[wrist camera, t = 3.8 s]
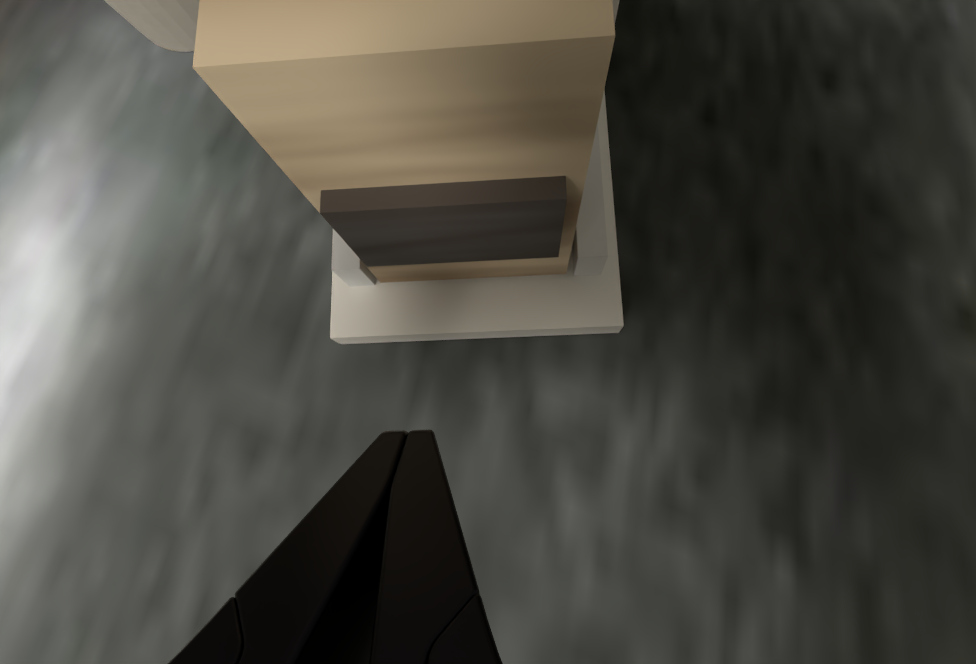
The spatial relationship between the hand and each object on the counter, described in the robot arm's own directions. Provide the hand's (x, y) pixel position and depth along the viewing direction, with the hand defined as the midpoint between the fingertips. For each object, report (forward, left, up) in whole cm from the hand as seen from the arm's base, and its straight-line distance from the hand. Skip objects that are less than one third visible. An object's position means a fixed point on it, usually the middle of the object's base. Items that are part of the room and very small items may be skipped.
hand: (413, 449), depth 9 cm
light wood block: (+6, +5, -10) cm, 13 cm away
